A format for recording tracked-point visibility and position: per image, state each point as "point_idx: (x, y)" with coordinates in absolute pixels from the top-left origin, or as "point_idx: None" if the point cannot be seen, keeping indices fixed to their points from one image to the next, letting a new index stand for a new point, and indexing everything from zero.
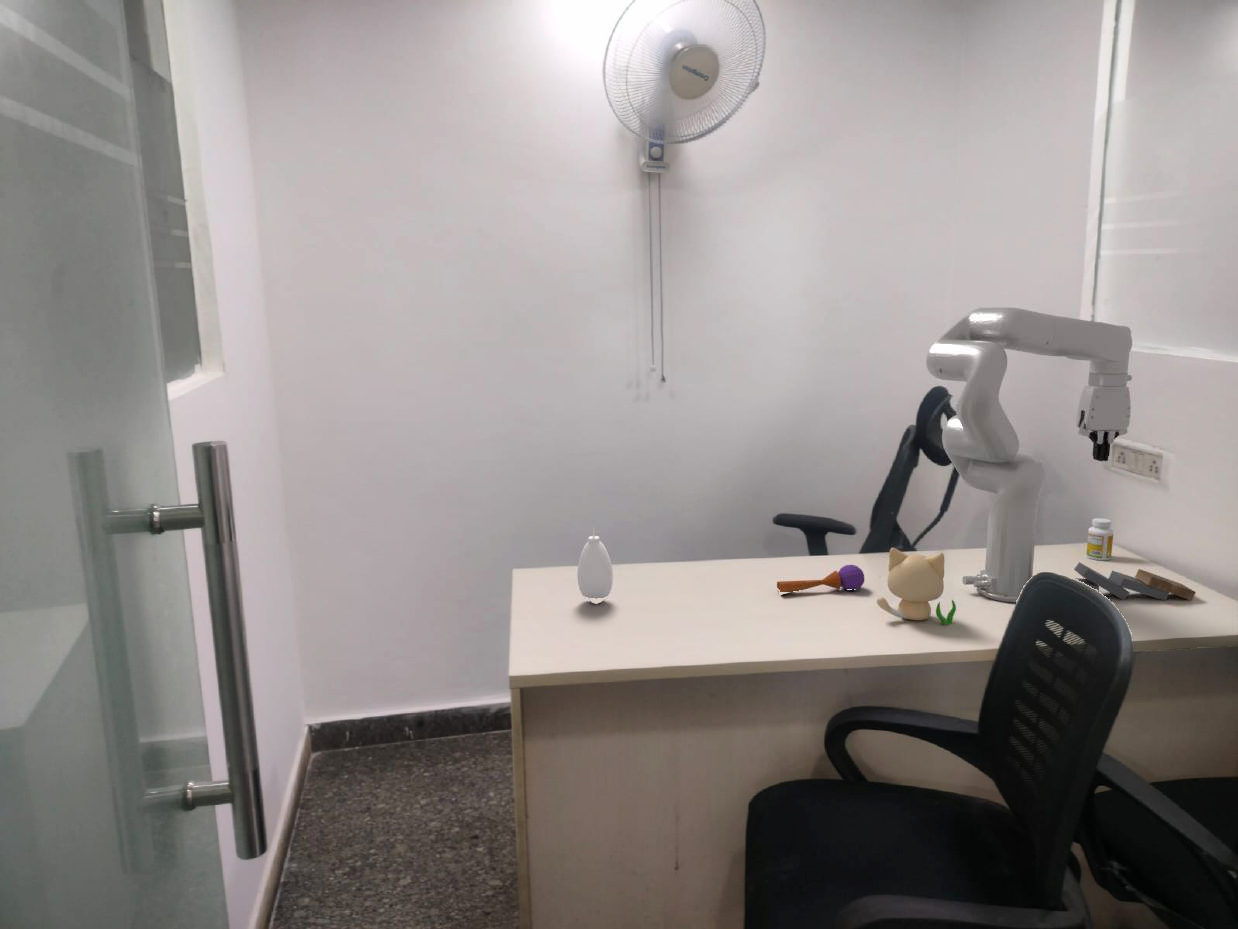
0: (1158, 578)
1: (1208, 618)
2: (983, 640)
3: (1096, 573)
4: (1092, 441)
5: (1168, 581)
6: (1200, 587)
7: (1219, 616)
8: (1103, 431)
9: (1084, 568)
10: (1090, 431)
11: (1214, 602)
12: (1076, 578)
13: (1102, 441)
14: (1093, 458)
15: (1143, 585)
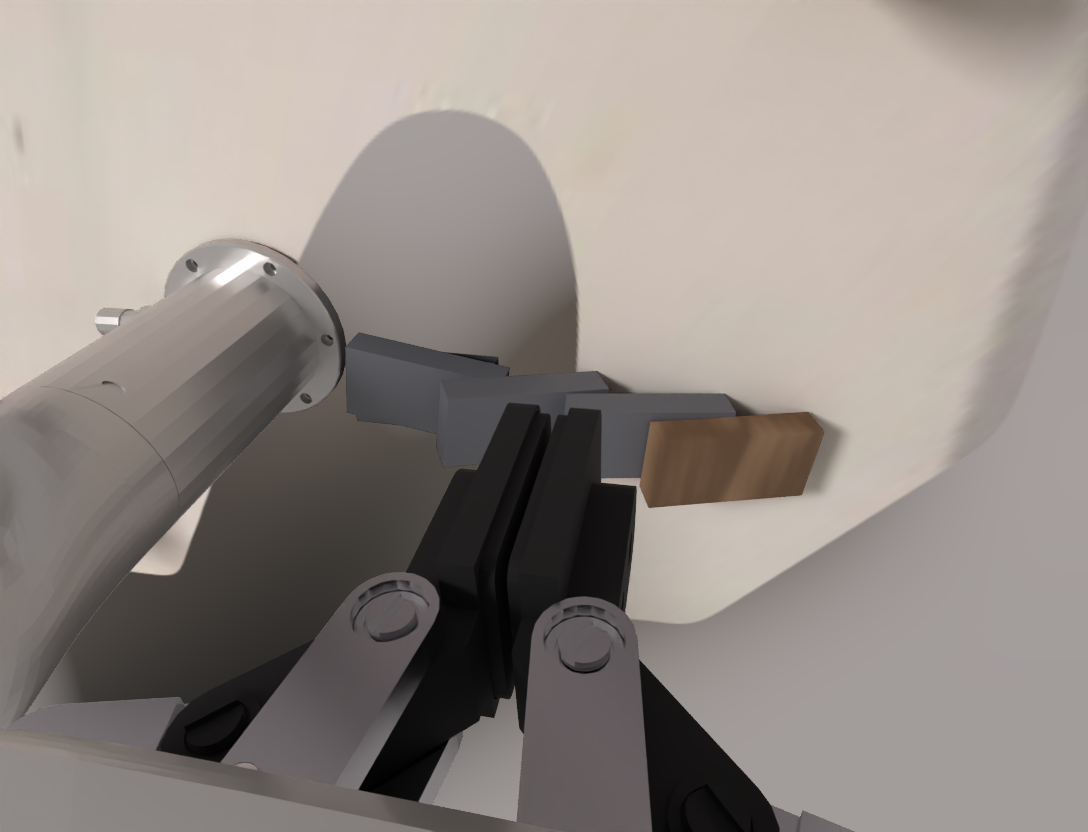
0: (680, 497)
1: (719, 567)
2: (172, 551)
3: (480, 455)
4: (370, 606)
5: (726, 483)
6: (950, 379)
7: (761, 565)
8: (517, 814)
9: (443, 444)
10: (227, 756)
11: (850, 493)
12: (457, 374)
13: (452, 739)
14: (510, 407)
15: (631, 475)
